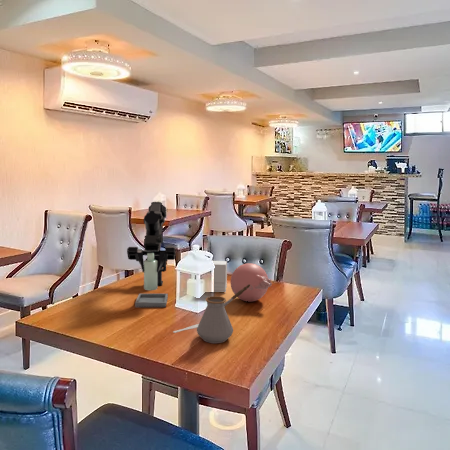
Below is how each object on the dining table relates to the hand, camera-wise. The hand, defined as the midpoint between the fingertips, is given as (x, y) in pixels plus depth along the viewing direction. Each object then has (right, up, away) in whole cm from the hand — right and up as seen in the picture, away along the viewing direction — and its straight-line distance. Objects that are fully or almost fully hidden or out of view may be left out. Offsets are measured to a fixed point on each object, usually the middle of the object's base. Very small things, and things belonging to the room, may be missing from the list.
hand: (150, 271), depth 159 cm
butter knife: (+12, -17, -26) cm, 33 cm away
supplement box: (+26, -11, +21) cm, 35 cm away
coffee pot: (+29, -17, -26) cm, 43 cm away
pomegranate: (+40, -13, +6) cm, 43 cm away
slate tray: (0, -12, +3) cm, 13 cm away
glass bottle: (0, -7, +2) cm, 7 cm away
